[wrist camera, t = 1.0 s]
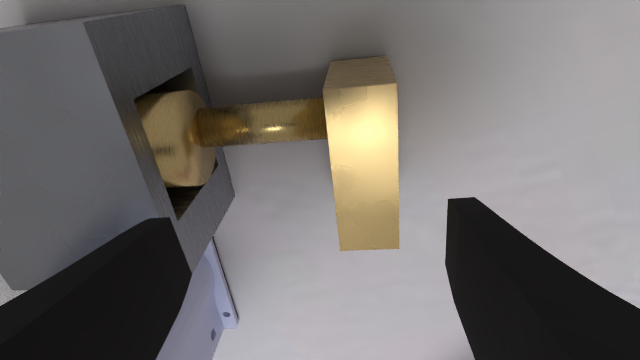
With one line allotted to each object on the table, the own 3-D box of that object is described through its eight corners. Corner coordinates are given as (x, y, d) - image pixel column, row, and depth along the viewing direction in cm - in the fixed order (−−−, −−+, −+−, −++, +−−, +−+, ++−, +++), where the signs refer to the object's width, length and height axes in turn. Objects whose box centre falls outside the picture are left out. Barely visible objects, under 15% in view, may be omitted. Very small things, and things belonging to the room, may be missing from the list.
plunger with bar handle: (389, 190, 20) (400, 255, 15) (127, 204, 22) (67, 265, 17) (386, 55, 16) (398, 86, 12) (76, 86, 18) (-16, 123, 14)
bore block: (234, 196, 21) (185, 286, 15) (107, 203, 22) (12, 290, 16) (184, 4, 16) (82, 21, 10) (24, 24, 17) (-156, 51, 11)
